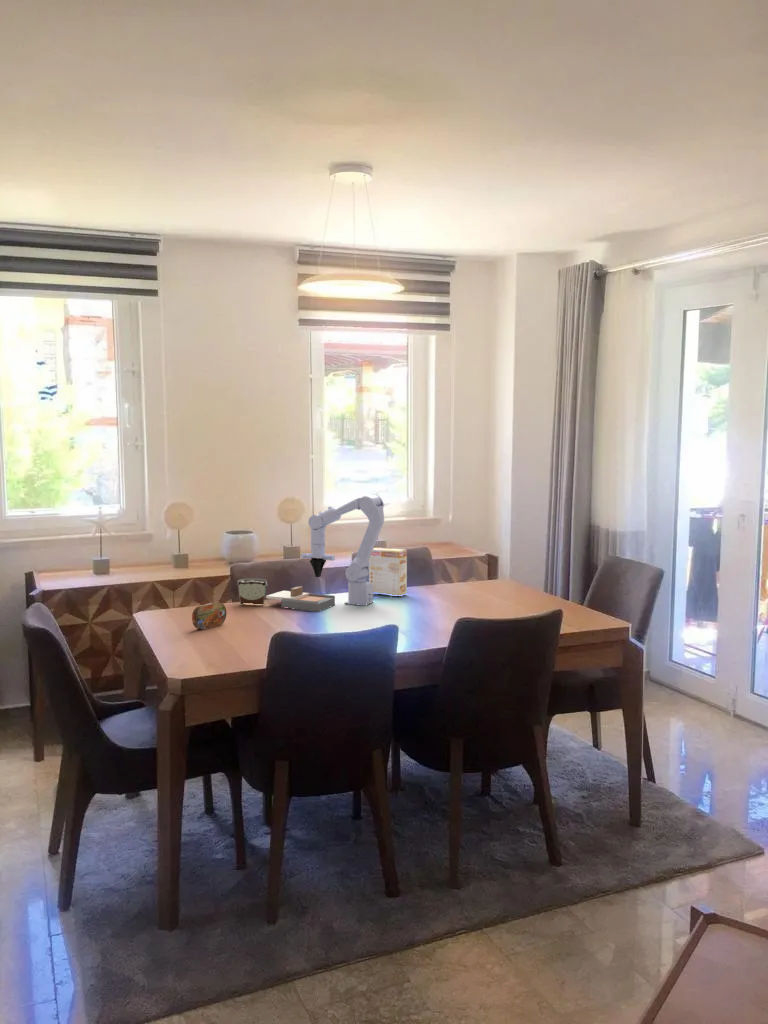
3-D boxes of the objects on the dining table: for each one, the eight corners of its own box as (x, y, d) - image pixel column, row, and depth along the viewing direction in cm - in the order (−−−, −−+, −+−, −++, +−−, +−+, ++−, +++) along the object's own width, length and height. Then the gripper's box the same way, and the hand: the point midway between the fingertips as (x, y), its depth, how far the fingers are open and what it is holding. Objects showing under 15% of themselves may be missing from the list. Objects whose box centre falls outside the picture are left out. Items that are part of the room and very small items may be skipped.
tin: (197, 631, 295) (196, 607, 294) (190, 630, 297) (190, 606, 296) (227, 623, 308) (227, 600, 307) (220, 622, 309) (220, 599, 309)
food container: (270, 603, 346) (270, 578, 345) (267, 606, 340) (267, 580, 339) (240, 602, 348) (240, 577, 347) (236, 605, 341) (236, 580, 341)
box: (334, 605, 342) (334, 595, 342) (317, 611, 330) (317, 601, 329) (299, 601, 349) (299, 592, 349) (281, 608, 336) (281, 598, 336)
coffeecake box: (407, 595, 366) (407, 549, 364) (398, 597, 360) (399, 551, 358) (377, 591, 374) (377, 546, 372) (368, 594, 367) (368, 548, 366)
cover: (309, 595, 346) (309, 585, 346) (292, 600, 334) (292, 590, 334) (283, 593, 351) (283, 583, 351) (266, 598, 339) (266, 588, 339)
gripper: (297, 543, 352) (297, 576, 353) (328, 545, 346) (328, 579, 347) (306, 542, 358) (306, 574, 359) (337, 544, 352) (337, 576, 353)
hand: (317, 576), depth 354 cm, fingers closed
